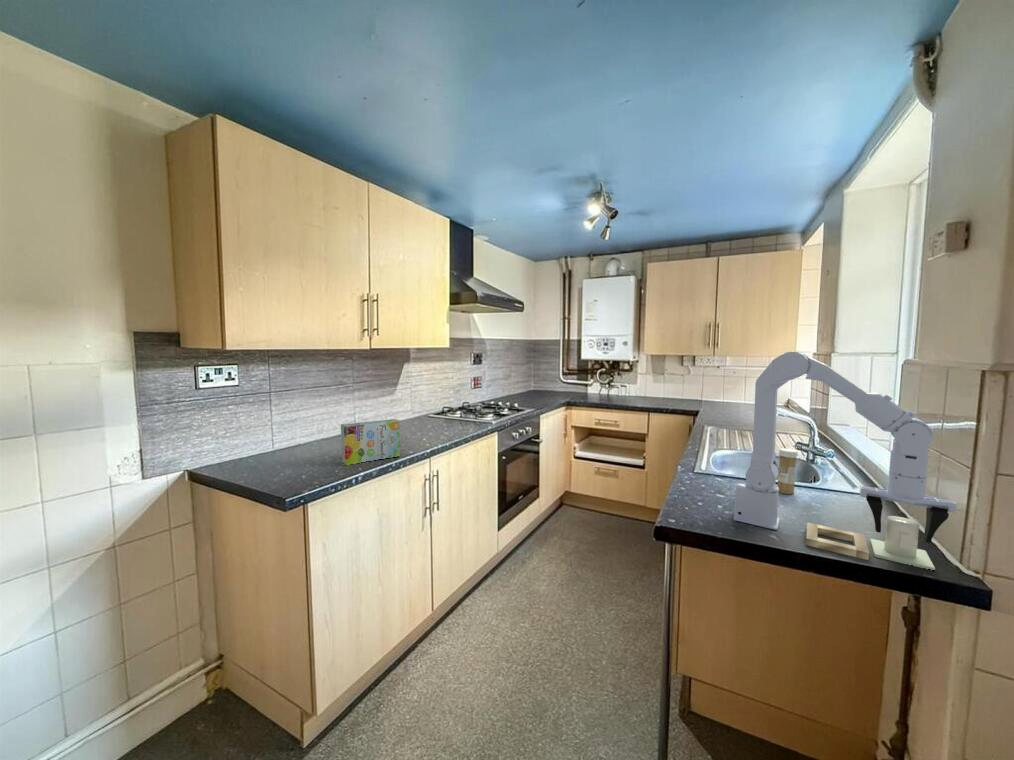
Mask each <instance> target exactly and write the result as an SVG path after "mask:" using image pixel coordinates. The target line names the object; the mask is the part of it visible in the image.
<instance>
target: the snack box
mask: <svg viewBox="0 0 1014 760" xmlns="http://www.w3.org/2000/svg"><path fill="white" fill-rule="evenodd" d="M400 423H401V420H399V419H397V418H388V419H381V420H371V421H362V422H353V423H352V422H351V423H344V424H340V442H341V445H340V446H341V463H342V464H343V463H344V464H345V465H348V466H351V465H350V464H354V465H357V464H356V463H360V464H362V463H361V462H366V461H372V460H378V459H385V458H391V457H397V456H400V457H401V424H400ZM391 459H392V458H391ZM385 460H386V459H385ZM372 462H373V461H372ZM366 463H367V462H366ZM344 464H343V465H344ZM345 465H344V466H345Z"/></svg>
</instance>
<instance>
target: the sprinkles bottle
mask: <svg viewBox="0 0 1014 760" xmlns="http://www.w3.org/2000/svg"><path fill="white" fill-rule="evenodd" d="M778 456H779V462H778V463H779V464H778V467H779V471H780V473H779V476H778V478H777V486H778V487H779V493H782V494H784V495H793V494H795V482H796V474H797V473H796V471H797V458H798V450H796V449H792V448H783V447H782V448H779V451H778Z"/></svg>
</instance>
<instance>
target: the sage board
mask: <svg viewBox="0 0 1014 760" xmlns="http://www.w3.org/2000/svg"><path fill="white" fill-rule="evenodd" d="M869 541H870V545H871V549H872V552H873V556H874V558H879V559H883V560H888V561H891V562H896V563H899V564H904V565H907V564H908V566H911V565H913V567H917V568H921V569H924V568H925V569H926V570H928V569H931V570H930V571H932V570H935V571H936V567H935V565H934V564H933V562H932V559H931V558H930V557H929V554H928V552H927V551H926V550H924V549H921V548H917V555H916V558H906V557H901V556H897V555H894V554H892V553H890V552H888V551H886V550H885V549H884V545H885V540H878V539H874V538H870V539H869Z"/></svg>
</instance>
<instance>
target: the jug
mask: <svg viewBox="0 0 1014 760" xmlns="http://www.w3.org/2000/svg"><path fill="white" fill-rule="evenodd" d="M885 524H886V525H885V536H884V542H885V545H884V549H885V550H886V551H888V552H890V553H892V554H894V555H897V556H901V557H906V558H916V555H917V549H918V544H919V533H920V523H919V522H917V521H915V520H913V519H909V518H906V517H902V516H898V515H888V516H887V517H886V523H885Z"/></svg>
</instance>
